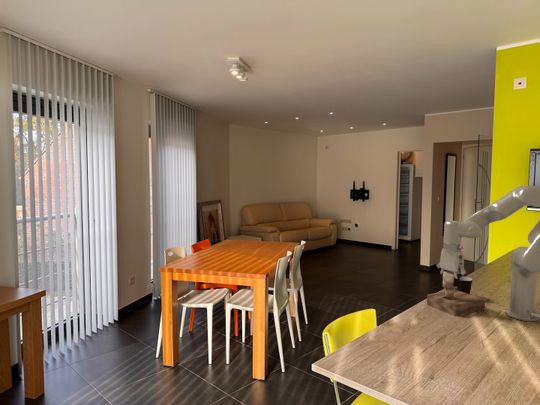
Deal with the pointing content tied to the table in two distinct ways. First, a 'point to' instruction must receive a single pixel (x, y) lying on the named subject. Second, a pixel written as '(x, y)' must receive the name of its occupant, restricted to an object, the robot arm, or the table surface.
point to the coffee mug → (465, 285)
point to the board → (456, 303)
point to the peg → (449, 283)
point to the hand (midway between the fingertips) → (450, 283)
